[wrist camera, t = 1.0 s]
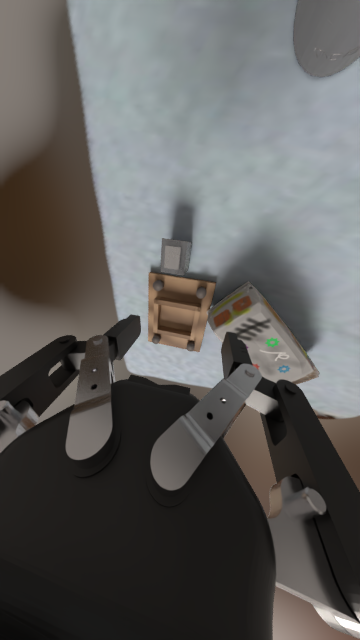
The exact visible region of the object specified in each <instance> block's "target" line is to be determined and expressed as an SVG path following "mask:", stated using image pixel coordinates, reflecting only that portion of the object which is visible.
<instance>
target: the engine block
mask: <svg viewBox="0 0 360 640" xmlns="http://www.w3.org/2000/svg"><path fill="white" fill-rule="evenodd" d="M191 246H192V242H187V241H180V240H172V239H164V238H162V252H161V272H164V273H170V274H176V275H183V276H184V275H185V273H186V272H187V271H188V268H189V260H190V253H191Z"/></svg>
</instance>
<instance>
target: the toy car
mask: <svg viewBox="0 0 360 640" xmlns="http://www.w3.org/2000/svg"><path fill="white" fill-rule="evenodd" d="M249 283H250V284H249ZM247 284H248V285H247ZM207 315H208V318H207V319H208V323H209V325H210V327H211V329H212V330H213V332H214V333H215V335H216V336H217V337H218V338H219V339H220V341H221V342H222V343H223V341H224V338H225V334H226V332H233V333H236V335H237V338H238V339H239V340H242V341H243V342H244V343H245V345H246V348H247V350H248V353H249V356H250V359H251V362H252V364H253V366H254V367H256V368H257V369H258V370H259V371H260V372H261V375H262V377H264V378H266V379H268V380H270V381H273V382H275V383H276V382H277V381H278V380H280V379H284V380H288V381H290V382H292V383H294V384H295V385H296V384H299V383H302V382H306V381H309V380H311V379H314V378H317V377H319V376H318V375H319V374H320V373H319V371H318V370H317V368H316V367H315V365H314V364H313V362H312V361H311V359H310V358H309V356H308V355H307V354H306V352H305V351H304V349H303V348H302V346H301V345H300V344H299V342H298V341H297V339H296V338H295V337H294V335H293V334H292V333H291V331H290V330H289V328H288V327H287V326H286V324H285V323H284V322H283V321H282V319H281V318H280V317H279V315H278V314H277V313H276V312H275V310H274V309H273V308H272V307H271V306H270V304H269V303H268V302H267V300H266V299H265V298H264V297H263V296H262V295H261V294H260V292H259V291H258V290H257V289H256V288H255V287H254V286H253V285H251V282H247V283H245V284H243V285H242V286H241V287H239V288H238V289H236V290H235V291H234V292H232V293H231V294H229V295H228V296H227V297H225V298H224V299H223V300H221V301H220V302H219V303H217V304H216V305H215V306H213V307H212V308H211V309H209V310H208V311H207Z"/></svg>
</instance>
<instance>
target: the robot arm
mask: <svg viewBox="0 0 360 640" xmlns="http://www.w3.org/2000/svg"><path fill="white" fill-rule="evenodd" d="M293 40H294V48H295V54H296V57H297V60H298V62H299V64H300V66H301V67H302V68H303V70H304V71H305V72H307V73H308V74H310V75H311V76H316V77H325V76H331V75H333V74H335V73H337V72H340V71H342V70H343V69H345V68H346V67H348V66H349V65H350V64H352V63H353V62H354V61H355V60H356V59H357V58H359V57H360V0H299V1H298V4H297V8H296V15H295V21H294V39H293ZM140 332H141V324H140V316H137V315H130V316H129V317H128V318H126V319H123V320H121V321H119V322H118V323H117V324H116V325H114V326H113V327H112V328H111V329H110V330H108V331H107V332H106V333H105V334H104V335H96V336H93V337H91V338H89V339H88V340H87V341H77V339H76V337H75V336H72V335H66V336H62V337H59V338H57V339H56V340H54V341H52V342H51V343H50V344H48V345H46V346H45V347H43V348H42V349H41V350H39V351H37V352H36V353H34V354H33V355H31V356H30V357H28V358H27V359H25V360H24V361H22V362H21V363H19V364H18V365H16V366H15V367H13V368H12V369H10V370H9V371H7V372H6V373H5V374H3V375H1V376H0V640H272V620H273V602H274V593H275V586H277V587H279V588H281V589H283V590H285V591H287V592H289V593H291V594H294V595H295V596H297V597H299V598H302V599H304V600H306V601H308V602H310V603H312V605H313V606H314V608H315V609H316V611H317V612H318V614H319V615H320V616H321V617H322V619H323V620H324V621H325V622H326V623H327V624H328V625H329V626H331V627H332V628H334V629H336V630H338V631H340V632H343V633H345V634H348V635H351V636H353V637H356V638H359V639H360V492H359V490H358V488H357V487H356V485H355V483H354V481H353V480H352V478H351V476H350V474H349V472H348V471H347V469H346V467H345V465H344V464H343V462H342V460H341V458H340V457H339V455H338V453H337V451H336V450H335V448H334V446H333V444H332V443H331V441H330V439H329V437H328V435H327V434H326V432H325V430H324V428H323V427H322V425H321V423H320V421H319V420H318V418H317V416H316V414H315V413H314V411H313V409H312V407H311V405H310V404H309V402H308V400H307V398H306V397H305V395H304V393H303V392H302V390H301V389H300V388H299V387H298V386H297V385H295V384H294V383H292V382H290V381H288V380H284V379H280V380H278V381H277V382H276V383H275V382H273V381H270V380H268V379H266V378H264V377H262V375H261V372H260V371H259V370H258V369H257V368H256V367H254V366H253V364H252V362H251V359H250V356H249V353H248V350H247V348H246V345H245V343H244V342H243V341H242V340H239V339H238V338H237V335H236V333H233V332H226V334H225V338H224V341H223V344H222V348H221V354H222V364H223V373H224V378H223V379H222V380H221V381H220V382H219V383H218V384H217V385H216V386H215V387H214V388H213V389H212V390H211V391H210V392H209V393H208V394H207V395H206V396H204V397H203V398H202V399H201V401H199V400H198V399H197V398H196V397H195V396H193V395H192V394H190V388H187V387H183V386H178V385H158V384H156V383H154V382H152V381H150V380H148V379H146V378H143V377H139V376H135V375H131V376H130V377H129V379H126V380H120V381H117V382H115V376H114V366H113V361H114V360H115V359H116V360H121V359H122V358H123V356H124V355H125V354H126V352H127V351H128V350H129V348H130V347H131V346H132V345H133V343H134V342H135V341H136V339H137V338H138V337H139V335H140ZM59 361H60V362H61V364H62V365H61V366H60V367H59V368H58V369H57V370H56V371H54V372H53V373H52V374H51V375H50V376H48V373H49V371H50V369H51V368H52V367H53V366H54V365H56V364H57V363H58V362H59ZM78 374H79V377H78V384H77V392H76V398H75V404H73V405H72V406H70V407H68V408H66V409H64V410H63V411H61V412H59V413H57V414H56V415H54V416H52V417H50V418H48V419H46V420H44V421H43V422H41V423H39V424H37V425H36V423H37V421H38V418H39V417H40V415H41V414H42V413H43V412H44V411H45V410H46V409H47V408H48V407H49V406H50V404H51V403H52V402H53V401H54V400H55V399H56V398H57V397H58V396H59V395H60V394H61V393H62V392H63V390H65V388H66V387H67V386H68V385H69V384H70V383H71V382H72V381H73V380H74V379H75V378H76V376H78ZM246 405H248V406H250V407H252V408H253V409H255V410H257V411H259V412H260V415H261V419H262V423H263V427H264V431H265V435H266V439H267V444H268V447H269V451H270V456H271V460H272V464H273V468H274V472H275V477H276V481H277V483H276V484H274V485H273V486H272V487H271V489H270V494H269V498H270V513H269V516H268V518H267V517H266V514H265V512H264V510H263V507H262V505H261V503H260V501H259V499H258V498H257V496H256V494H255V492H254V491H253V489H252V487H251V485H250V484H249V482H248V480H247V478H246V477H245V475H244V473H243V472H242V470H241V468H240V466H239V465H238V463H237V461H236V459H235V458H234V456H233V454H232V453H231V451H230V449H229V448H228V446H227V444H226V442H225V441H224V437H225V436H226V434H227V432H228V431H229V430H230V428H231V426H232V425H233V423H234V422H235V420H236V419H237V417H238V416H239V415H240V413H241V412H242V410H243V409H244V407H245V406H246Z"/></svg>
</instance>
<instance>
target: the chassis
mask: <svg viewBox="0 0 360 640" xmlns="http://www.w3.org/2000/svg"><path fill="white" fill-rule="evenodd" d="M215 286H216V282H210V281H204V280H198V279H192V278H185V277H179V276H173V275H166V274H160V273H154V272H150V273H149V313H148V341H150V342H153V343H154V344H158V343H159V344H164V345H169V346H173V347H178V348H183V349H187V350H188V351H197V352H199V351H200V347H201V343H202V339H203V335H204V331H205V327H206V323H207V318H208V315H207V311H208V310H209V309H210V306H211V302H212V298H213V294H214V290H215Z"/></svg>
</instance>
